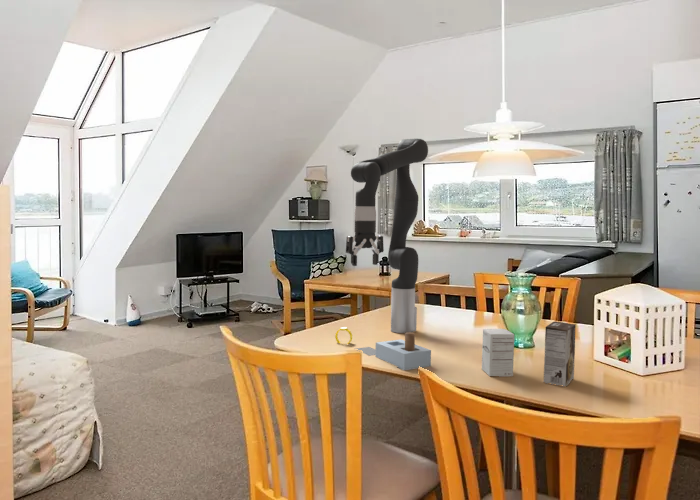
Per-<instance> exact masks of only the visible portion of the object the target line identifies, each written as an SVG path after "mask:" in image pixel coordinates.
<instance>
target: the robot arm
mask: <svg viewBox="0 0 700 500" xmlns="http://www.w3.org/2000/svg"><path fill="white" fill-rule="evenodd" d="M428 155H429V146H428V144H427V142H426V141H425V140H424V139H422V138H405V139H404V138H403V139H401V140H400V141H398V144H397V147H396V150H394V151H393V150H392V151H388V152H385V153H383V154H380V155H377V156H376V157H373V158H371V159H365V160H362V161H359V162H356V163H355V164H353V166H352V167H351V169H350V176H351V179H352V180H353V181H354V182H356V183H359V184H360V183H362V184H363V183H365V184H364V187H363V188H361V189H359V190H357V191H356V192H355V209H354V236H352V235H347V236H346V243H345V253H346V254H348V255H350V263H351V265H352V266H353V267H357V266H358V255H357V254H358V253H359V251H360V250H361V249H369V250H370V251H371V252H372V265H374V266H378V264H379V260H380V259H379V254H381V253H384V250H385V249H384V236H383V235H376V232H377V228H376V227H377V209H376V194H377V191H378V188H379V183H380V180H381V177H382V176H385V175H386V174H389V173H391V172H393V171H395V170H396V184H395V194H394V195H395V196H394V205H393V207H394V208H393V220H392V229H391V237H390V242H389V247H388V253H387V262H388V264H389V266H390V267H391V268H392V269H394V270H399V271H398V277H397V278H394V279H392V280H391V292H390V293H391V296H390V297H391V302H390V310H391V311H390V332H393V333H397V334H405V333H406V332H413V333H415V332H417V324H418V323H417V320H418V319H417V318H418V317H417V316H418V308H417V306H416V301H415V300H416V283H417V281H418V276H419V275H418V274H419V253H418V252H417V250H416V249H415V248H414V247H410V246H406V245H407V244H406V243H407V242H406V241H407V237H408V233H409V231H410V229H411V227H412V225H413V224H414V221H415V219H416V218H417V214H418V209H419V195H418V191H417V189H416V187H415V185H414V182H413V181H412V178H411V173H410V166H411V164H416V163H417V164H418V163H422V162H424V161H425V160H426V158H427V157H428ZM354 242H355V243H354ZM375 242H376V244H375ZM353 243H354V245H353Z"/></svg>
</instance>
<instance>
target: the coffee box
mask: <svg viewBox="0 0 700 500" xmlns="http://www.w3.org/2000/svg"><path fill="white" fill-rule="evenodd" d="M576 325H577V324H575V323H568V322H563V321H553V322H551V323H550V324H548V325H546V326H545V331H544V333H545V334H544V335H545V336H544V338H545V340H544V360H543V362H544V365H543V383H544V382H545V383H544V384H548V383H551V384H550V385H553V384H556V385H555V386H558V385H563V386H562V387H564V386H566V387H567V386H568V385H570V383H571V382H572V381H573V380H574V378H575V357H576V356H575V355H576V354H575V352H576ZM572 379H573V380H572ZM571 380H572V381H571ZM570 381H571V382H570Z"/></svg>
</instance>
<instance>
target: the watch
mask: <svg viewBox="0 0 700 500" xmlns="http://www.w3.org/2000/svg"><path fill="white" fill-rule="evenodd" d="M340 331H345V332H347V333H348V335H349V341H348V342H347V343H346V344H347V345H349V344H350V343H352V342H353V341H352V340H353V334H352V332H351V330H350V329H348V327H347V326H341V327H339V329H338V330H337V331H336V333H335V335H334V339H335V342H336V343H338V344H341V341H340V340H339V338H338V335H339V332H340Z"/></svg>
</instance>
